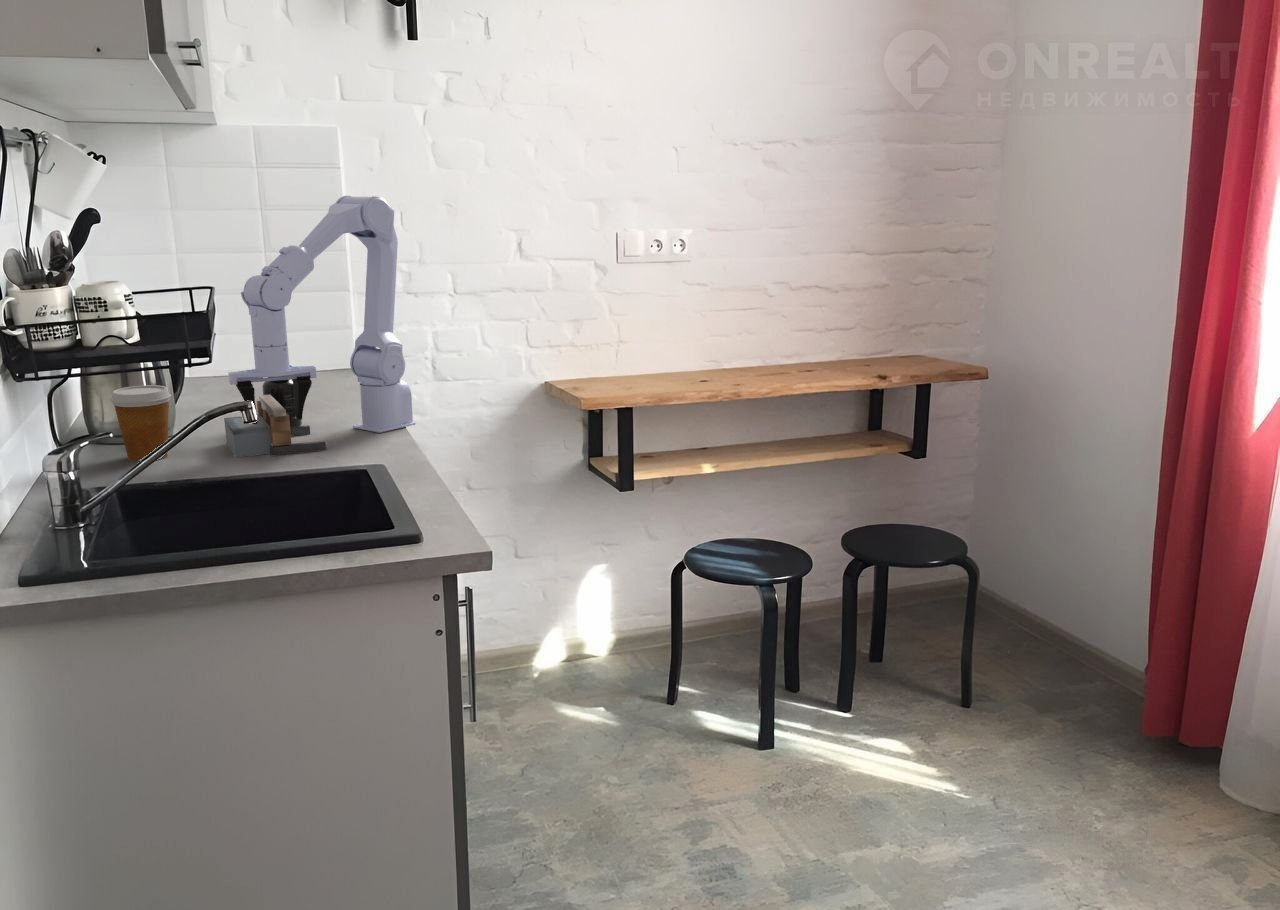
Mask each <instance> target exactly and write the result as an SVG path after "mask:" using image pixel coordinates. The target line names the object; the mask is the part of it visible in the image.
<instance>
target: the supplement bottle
mask: <svg viewBox="0 0 1280 910" xmlns="http://www.w3.org/2000/svg"><path fill="white" fill-rule="evenodd" d="M289 367H293V366H292V365H290V364H289ZM279 377H283V376H279ZM267 378H271V377H267ZM261 390H262V395H271V396H272V397H273V398H274V399H275V400H276V401H277V402H278V403H279V404H280V405H281V406H282V407H283V408H284V409H285V410H286V413H287V414H288V415H289V420H290V427H295V426H302V423H303V422H302V420H303V419H302V420H298V419H297V418H296V412H295V393H294V386H293V379H287V380H275V381H263V383H262V389H261Z"/></svg>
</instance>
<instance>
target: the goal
mask: <svg viewBox="0 0 1280 910" xmlns="http://www.w3.org/2000/svg"><path fill="white" fill-rule="evenodd" d="M257 415H258V414H257ZM223 422H224V432H225V440H226V441H225V442H226V445H227V446H228V448H229V450H230V452H232V454H233V456H234V458H242V457H251V456H260V455H270V446H273V444H272V442H271V430H270V426H269V425H268V424H267V423H266V422H265V420H264V419H263V418H262V417H261V416H260V415H258V421H257V424H253V423H252V424H244V423H243V421H242V417H241V416H233V417H224V421H223Z"/></svg>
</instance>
